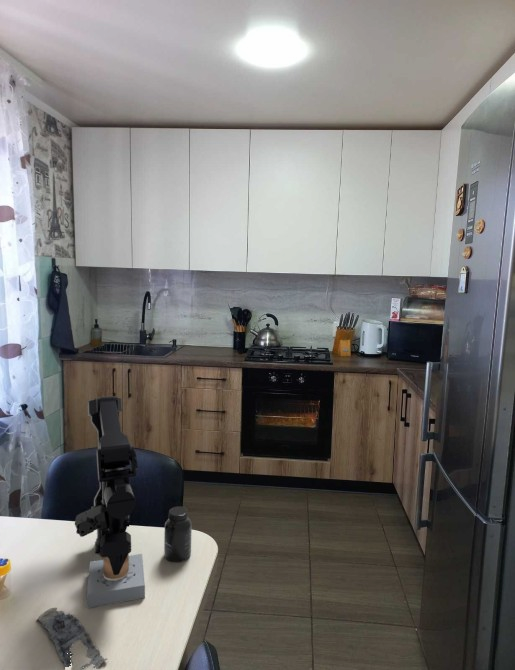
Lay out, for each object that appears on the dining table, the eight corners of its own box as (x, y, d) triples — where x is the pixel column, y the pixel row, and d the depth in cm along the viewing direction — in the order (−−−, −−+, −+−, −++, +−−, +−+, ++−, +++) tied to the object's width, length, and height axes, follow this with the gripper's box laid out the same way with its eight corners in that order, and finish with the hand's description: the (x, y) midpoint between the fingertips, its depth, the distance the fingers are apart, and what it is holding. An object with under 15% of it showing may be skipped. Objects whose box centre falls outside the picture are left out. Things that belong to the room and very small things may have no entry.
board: (90, 573, 107) (90, 561, 107) (142, 565, 111) (142, 553, 111) (87, 607, 96) (86, 594, 96) (144, 597, 99) (144, 585, 99)
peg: (103, 577, 105) (103, 537, 104) (128, 573, 107) (128, 534, 106) (103, 593, 100) (102, 551, 99) (129, 589, 102) (129, 547, 100)
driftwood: (34, 619, 93) (34, 610, 93) (67, 604, 98) (67, 595, 97) (70, 688, 78) (70, 677, 78) (108, 666, 82) (107, 656, 82)
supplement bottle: (159, 560, 113) (159, 515, 112) (171, 545, 120) (171, 502, 118) (185, 565, 111) (185, 519, 110) (195, 549, 118) (195, 506, 117)
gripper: (80, 483, 107) (81, 544, 109) (73, 522, 90) (74, 595, 91) (128, 478, 111) (129, 538, 112) (131, 515, 93) (131, 585, 95)
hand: (116, 562), depth 103 cm, fingers open, 9 cm apart
